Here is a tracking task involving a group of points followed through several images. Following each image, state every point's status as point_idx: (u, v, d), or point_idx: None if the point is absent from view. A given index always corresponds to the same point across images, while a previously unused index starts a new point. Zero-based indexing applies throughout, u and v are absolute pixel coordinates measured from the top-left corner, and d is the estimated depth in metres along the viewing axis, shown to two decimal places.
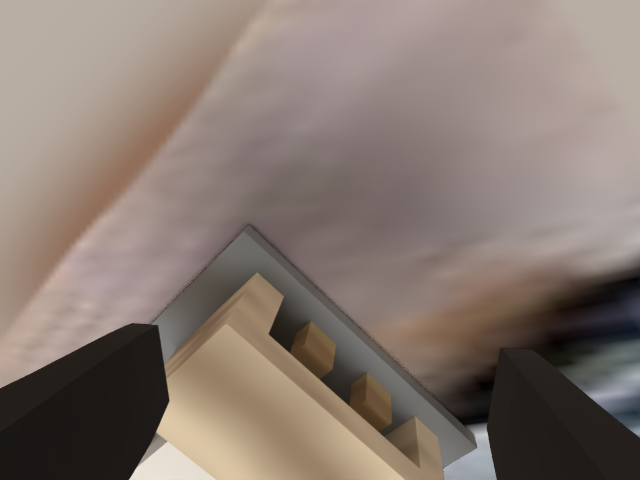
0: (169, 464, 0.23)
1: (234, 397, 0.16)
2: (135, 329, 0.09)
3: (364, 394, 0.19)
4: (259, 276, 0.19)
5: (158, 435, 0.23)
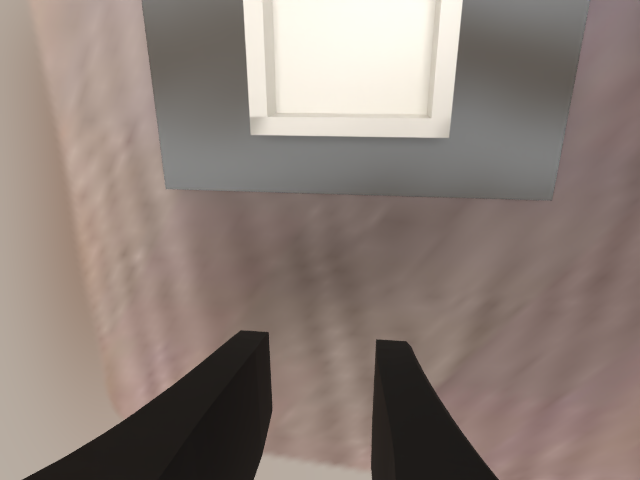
0: None
1: None
2: (249, 336, 0.09)
3: None
4: None
5: None
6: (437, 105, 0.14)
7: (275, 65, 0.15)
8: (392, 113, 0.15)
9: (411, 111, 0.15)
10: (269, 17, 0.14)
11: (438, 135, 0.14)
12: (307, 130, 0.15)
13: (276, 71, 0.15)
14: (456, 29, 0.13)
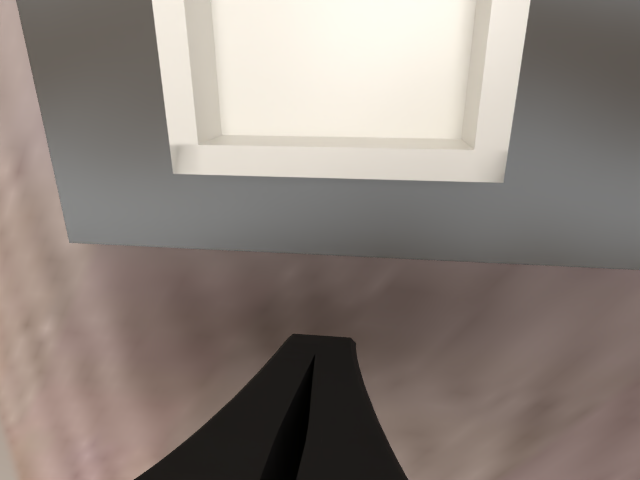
0: None
1: None
2: (305, 340, 0.09)
3: None
4: None
5: None
6: (485, 128, 0.08)
7: (217, 60, 0.10)
8: (405, 137, 0.10)
9: (436, 134, 0.10)
10: None
11: (485, 178, 0.08)
12: (264, 167, 0.09)
13: (219, 69, 0.10)
14: None
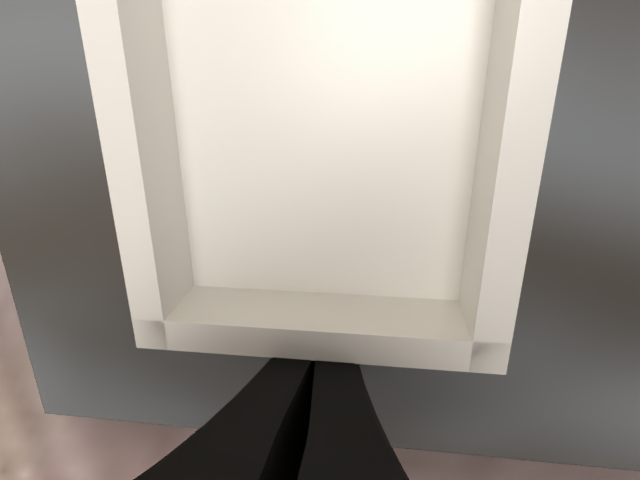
0: None
1: None
2: None
3: None
4: None
5: None
6: (485, 321, 0.07)
7: (187, 213, 0.09)
8: (396, 297, 0.09)
9: (430, 294, 0.09)
10: (164, 140, 0.08)
11: (485, 370, 0.07)
12: (238, 347, 0.08)
13: (189, 221, 0.09)
14: (531, 191, 0.06)
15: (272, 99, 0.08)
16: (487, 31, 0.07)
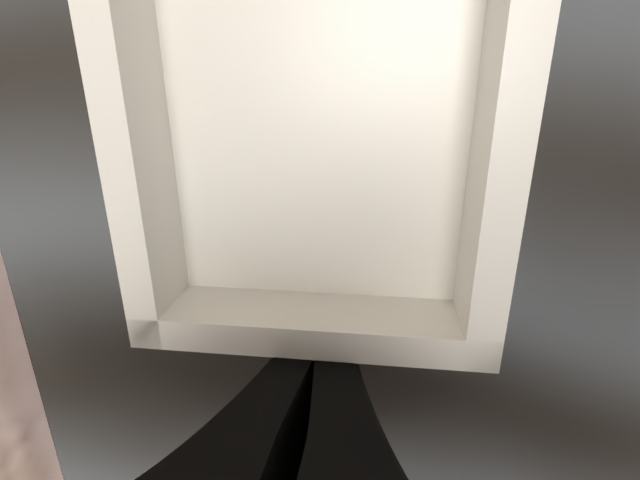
0: None
1: None
2: None
3: None
4: None
5: None
6: (478, 320, 0.07)
7: (181, 213, 0.09)
8: (390, 296, 0.09)
9: (424, 294, 0.09)
10: (158, 139, 0.08)
11: (478, 369, 0.07)
12: (232, 346, 0.08)
13: (184, 221, 0.09)
14: (522, 190, 0.06)
15: (266, 99, 0.08)
16: (479, 31, 0.07)
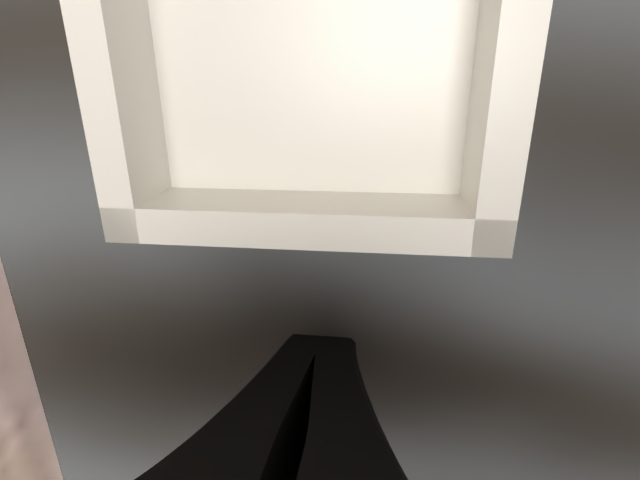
0: None
1: None
2: (305, 340, 0.09)
3: None
4: None
5: None
6: (489, 193, 0.06)
7: (161, 100, 0.08)
8: (391, 192, 0.08)
9: (428, 188, 0.08)
10: (133, 4, 0.07)
11: (489, 253, 0.07)
12: (216, 237, 0.07)
13: (165, 111, 0.08)
14: (540, 27, 0.06)
15: None
16: None
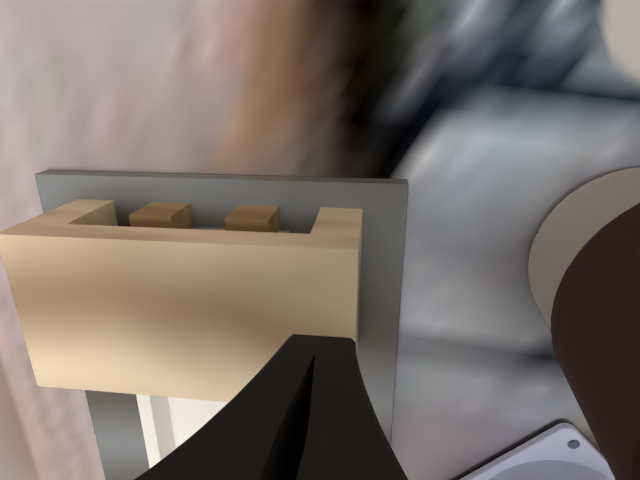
0: None
1: (73, 298, 0.15)
2: (305, 340, 0.09)
3: (227, 219, 0.16)
4: (79, 200, 0.18)
5: None
6: None
7: (172, 424, 0.21)
8: None
9: None
10: (163, 406, 0.20)
11: None
12: None
13: (173, 426, 0.21)
14: None
15: None
16: None
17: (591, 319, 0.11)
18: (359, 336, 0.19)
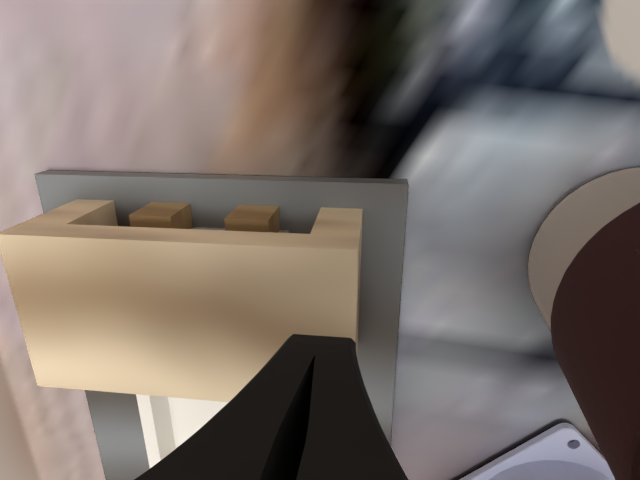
0: None
1: (73, 298, 0.15)
2: (305, 340, 0.09)
3: (227, 219, 0.16)
4: (79, 200, 0.18)
5: None
6: None
7: (172, 424, 0.21)
8: None
9: None
10: (163, 406, 0.20)
11: None
12: None
13: (173, 426, 0.21)
14: None
15: None
16: None
17: (591, 319, 0.11)
18: (359, 336, 0.19)
